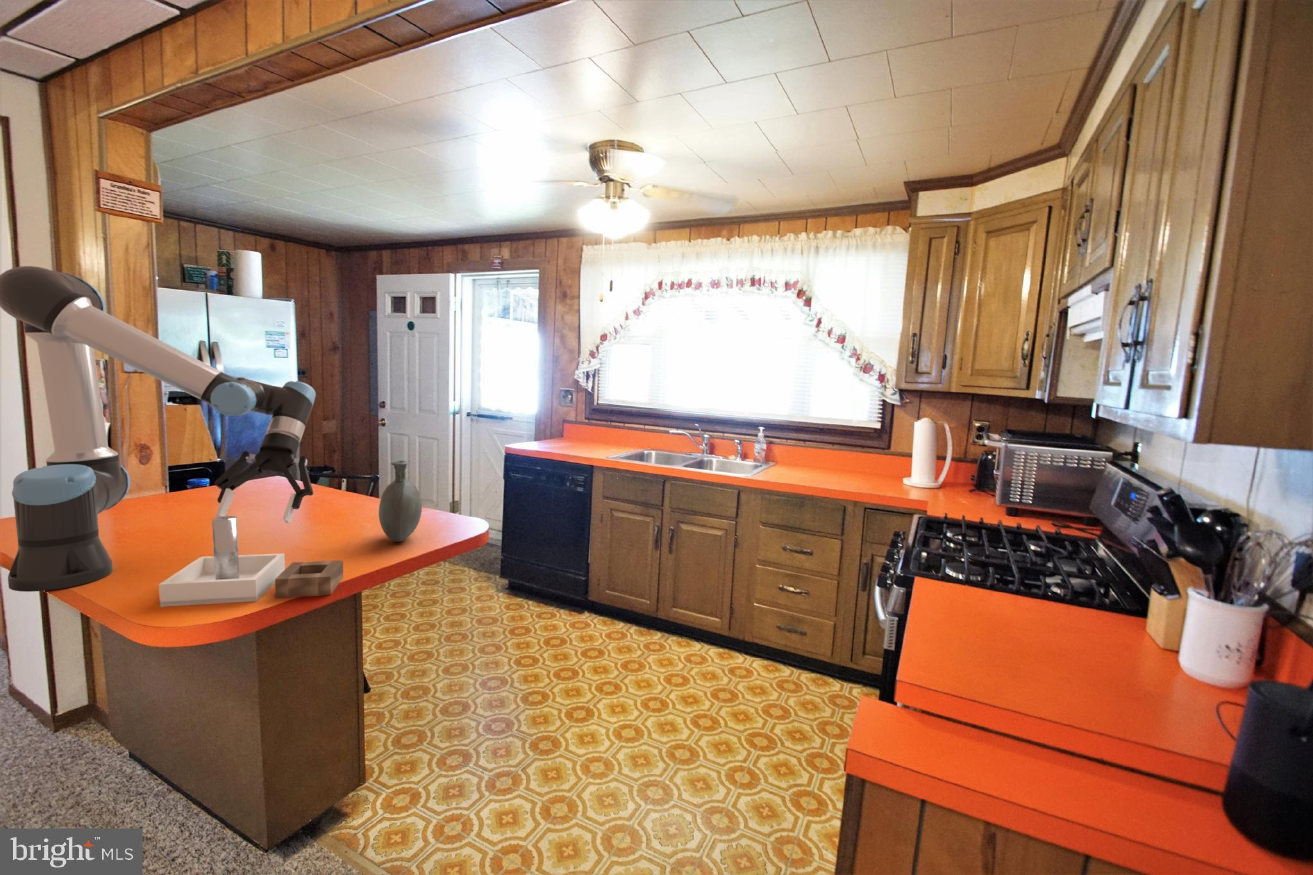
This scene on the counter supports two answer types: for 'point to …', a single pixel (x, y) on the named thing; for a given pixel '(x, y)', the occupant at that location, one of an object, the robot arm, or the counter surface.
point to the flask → (400, 506)
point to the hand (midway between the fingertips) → (253, 519)
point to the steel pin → (225, 547)
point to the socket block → (309, 579)
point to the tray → (221, 581)
